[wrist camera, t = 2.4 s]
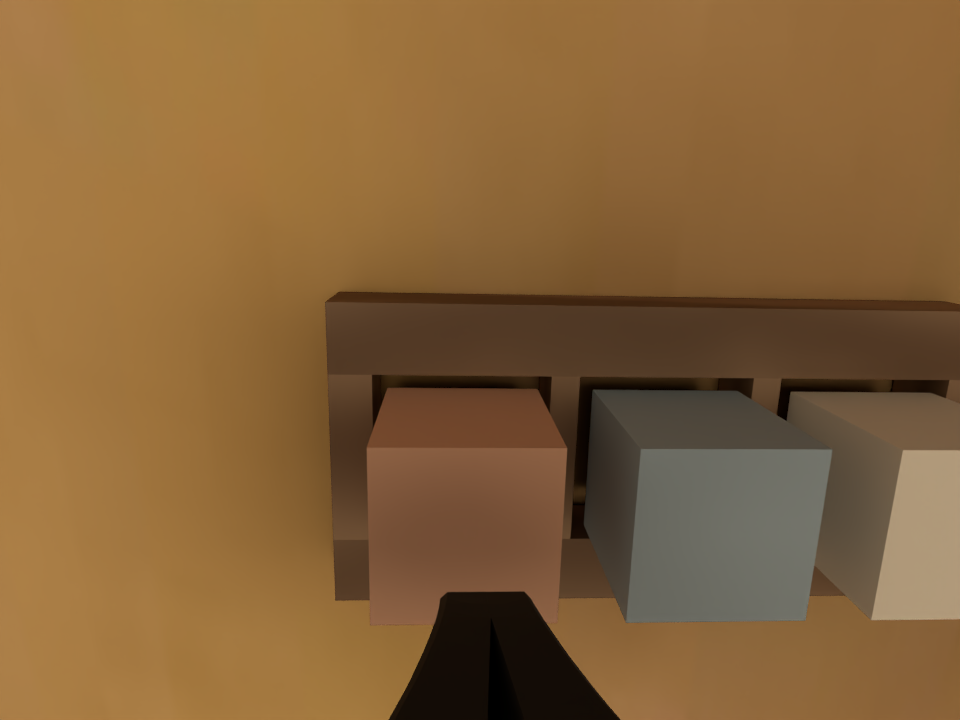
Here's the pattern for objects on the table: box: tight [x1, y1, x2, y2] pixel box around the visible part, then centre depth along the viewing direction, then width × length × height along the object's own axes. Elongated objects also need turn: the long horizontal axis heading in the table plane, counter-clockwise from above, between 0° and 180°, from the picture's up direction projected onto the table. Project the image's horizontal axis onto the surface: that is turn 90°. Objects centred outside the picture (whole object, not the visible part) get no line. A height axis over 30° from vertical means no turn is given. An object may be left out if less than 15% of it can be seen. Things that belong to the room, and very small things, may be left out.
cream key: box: [787, 392, 960, 620], centre depth 16 cm, size 4×4×5 cm
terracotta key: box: [367, 388, 567, 625], centre depth 16 cm, size 4×4×5 cm
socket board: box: [325, 292, 960, 601], centre depth 19 cm, size 9×19×2 cm, turn 89°
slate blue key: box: [584, 390, 833, 623], centre depth 16 cm, size 4×4×5 cm
